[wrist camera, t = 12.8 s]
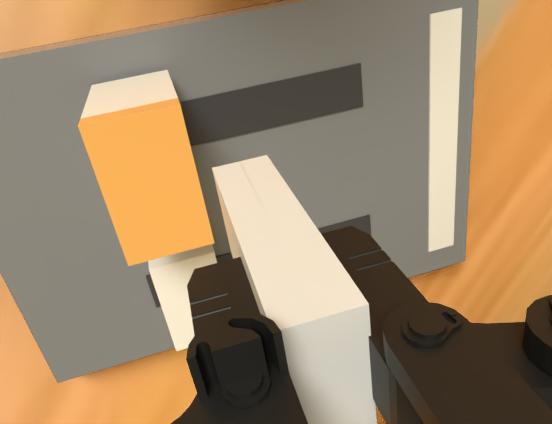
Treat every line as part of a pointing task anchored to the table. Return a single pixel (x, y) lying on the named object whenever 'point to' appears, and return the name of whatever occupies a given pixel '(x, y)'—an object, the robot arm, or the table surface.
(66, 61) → the panel
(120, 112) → the handle
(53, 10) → the table surface
